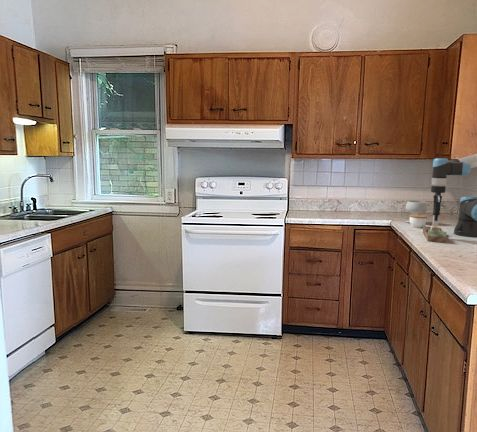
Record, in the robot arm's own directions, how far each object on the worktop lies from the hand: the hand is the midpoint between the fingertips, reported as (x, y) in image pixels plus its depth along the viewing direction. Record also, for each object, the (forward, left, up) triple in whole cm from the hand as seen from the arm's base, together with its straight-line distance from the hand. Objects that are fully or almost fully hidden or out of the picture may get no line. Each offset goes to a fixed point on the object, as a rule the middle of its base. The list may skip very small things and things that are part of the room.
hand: (435, 226), depth 245 cm
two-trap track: (0, 0, -7) cm, 7 cm away
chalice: (+6, -52, -7) cm, 53 cm away
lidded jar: (+6, -34, -7) cm, 35 cm away
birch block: (+1, +8, -4) cm, 9 cm away
